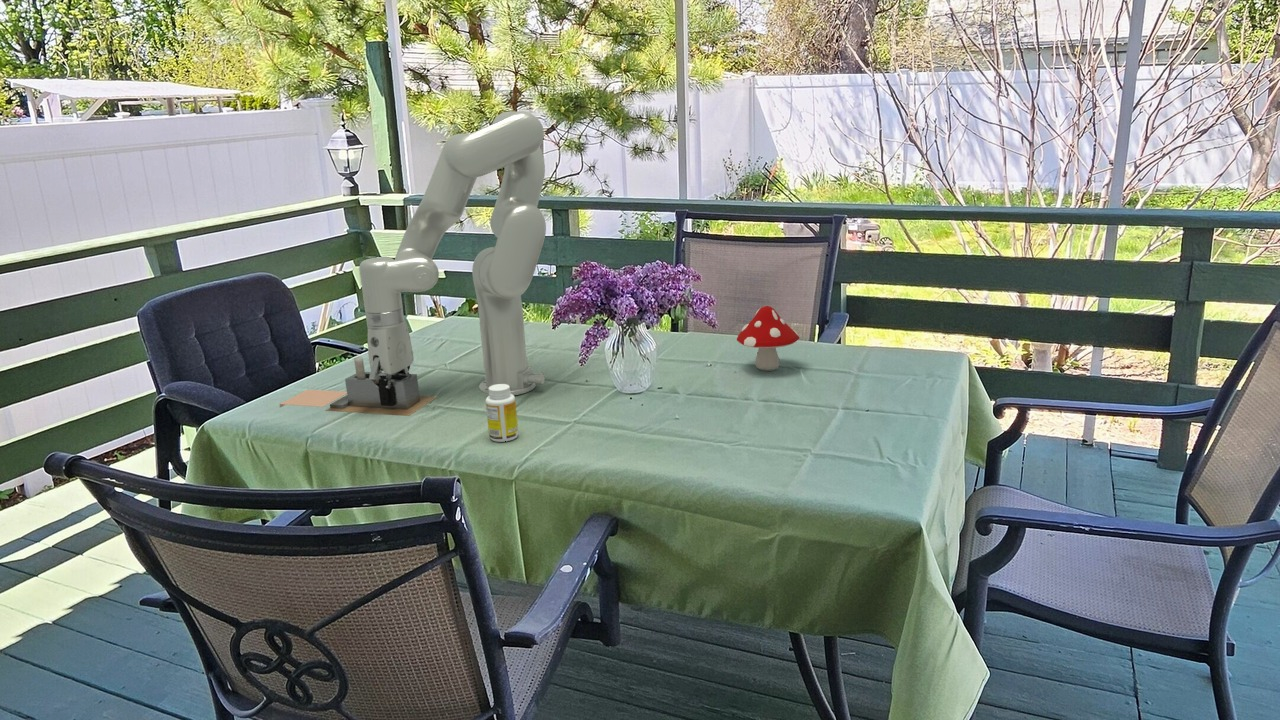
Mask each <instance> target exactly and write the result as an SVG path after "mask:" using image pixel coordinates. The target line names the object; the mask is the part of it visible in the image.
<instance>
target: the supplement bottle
mask: <svg viewBox="0 0 1280 720" xmlns="http://www.w3.org/2000/svg"><path fill="white" fill-rule="evenodd" d="M485 409H486V418H487V427H488V435H489V436H488V437H489V439H490V440H491V441H493V442H497V443H504V442H505V441H506V442H510V441H513V440H515V439H517V438H518V436H519V425H518V417H517V414H518V413H517V407H516V398H515V395H512V394H510V386H509V385H507V384H496V385H492V386H490V387H489V393H488V396H487V397H485Z"/></svg>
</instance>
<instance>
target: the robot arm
mask: <svg viewBox="0 0 1280 720" xmlns="http://www.w3.org/2000/svg"><path fill="white" fill-rule="evenodd" d="M544 137H545V131H544V127H543V124H542V122H541V121H540V119H539V118H538V117H537V116H536V115H534V114H533V113H531V112H526V111H515V110H514V111H504V112H501V113H500V114H498V115H497V116H496V117H495V118H494V119H493V121H492V122H491V124H490V125H488V126H486V127H483V128H481V129H478V130H476V131H474V132H470V133H456V134H453V135H451V136H449V138H448V139H447V140H446V141H445V143H444V145H443V147H442V149H441V151H440V154H439V156H438V160H437V161H436V164H435V167H434V169H433V171H432V174H431V178H430V179H429V182H428V184H427V187H426V189H425V192H424V193H423V196H422V200H421V201H420V203H419V205H418V206H417V208H416V210H415V212H414V215H413V216H412V218H411V219H410V222H409V224H407V227H406V230H405V232H404V234H403V236H402V239H401V241H400V245H399V247H398V248H397V251H396V254H395V258H392V257H388V256H384V257H383V256H381V257H371V258H367V259H365V260H362V261H361V262H360V264H359V267H358V268H359V269H358V270H359V276H360V283H361V290H362V291H361V292H362V297H363V298H362V300H363V306H364V312H365V319H366V321H365V322H366V327H367V352H368V361H369V368H370V371H369V372H370V376H369V379H370V380H372V381H373V382H374V383H375V384H376V387H377V388H379V396H380V403H381V405H383V406H394V405H395V398H394V390H393V387H391V376H392V375H394V374H396V373H401V374H410V368H411V366H412V364H413V363H414V352H413V346H412V340H411V335H410V331H409V327H408V325H407V322H406V319H405V315H404V307H403V306H404V305H403V300H402V293H403V292H404V293H405V292H406V293H408V292H409V293H419V292H420V293H421V292H425V291H428V290H431V289H432V288H434V287H435V286H436V284H437V283H438V280H439V278H440V277H439V276H440V274H439V273H440V272H439V269H438V266H437V264H436V263H435V261H433V257H434V255H435V253H436V251H437V248H438V246H439V243H440V242H441V240H442V238H443V237H444V235H445V234H446V232H447V231H448V230H449V229H450V228H451V227H452V226H454V225H456V223H457V222H458V221H459V220H460V219H461V217H462V215H463V214H464V211H465V208H466V206H467V203H468V201H469V198H470V196H471V194H472V191H473V188H474V186H475V184H476V181H477V179H478V177H479V178H481V177H484V176H486V175H488V174H491V173H493V172H495V171H498V170H500V169H503V168H504V171H503V176H502V181H501V185H500V187H499V192H498V194H497V198H496V201H495V205H494V207H493V211H492V213H491V216H490V221H489V222H490V229H491V232H492V234H493V235H494V236H495V238H497V239H496V243H495V246H489V247H487V248H484V249H483V250H481V251H480V252H478V254H477V255H476V256H475V259H474V260H473V264H472V270H471V273H472V275H471V276H472V281H473V287H474V290H475V292H474V293H475V295H476V296H475V298H476V301H477V308H478V309H477V310H478V311H477V312H478V316H479V317H478V319H479V331H480V340H481V349H482V358H483V359H482V360H483V369H484V371H483V372H484V380H483V381H481V382H480V384H479V385H478V390H479V391H481V392H483V393H485V394H489V387H490V386H492V385H496V384H507V385H509V386H510V394H512V395H514V396H518V395H523V394H526V393H528V392H530V391H532V390H534V389H535V388H536V386H537V384H538V385H544V383H545V382H546V379H545V375H544V372H534V371H533V365H528V359H527V358H528V355H527V346H526V336H525V335H526V334H525V323H524V311H523V310H524V309H523V302H522V301H523V300H522V297H521V296H522V295H523V294H524V293H525V292H527V289H528V288H529V287H530V284H531V282H532V280H533V277H534V274H535V271H536V268H537V264H538V263H539V258H540V255H541V252H542V248H543V247H544V242H545V237H546V233H547V223H546V219H545V218H546V217H545V216H544V214H543V212H542V211H541V209H540V208H538V206H539V201H540V198H541V194H542V193H541V192H542V189H543V186H544V181H545V173H546V164H545V158H544V154H543V152H542V149H541V145H542V143H543V142H544V141H543V140H544ZM382 376H386V381H385V380H384V379H383V378H382Z"/></svg>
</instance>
